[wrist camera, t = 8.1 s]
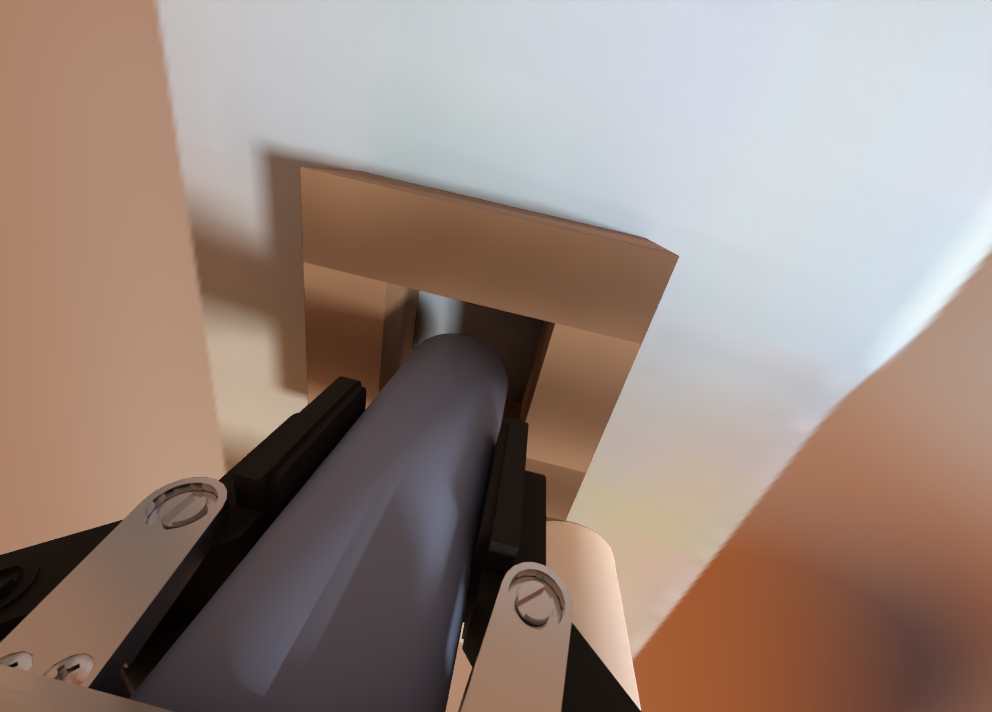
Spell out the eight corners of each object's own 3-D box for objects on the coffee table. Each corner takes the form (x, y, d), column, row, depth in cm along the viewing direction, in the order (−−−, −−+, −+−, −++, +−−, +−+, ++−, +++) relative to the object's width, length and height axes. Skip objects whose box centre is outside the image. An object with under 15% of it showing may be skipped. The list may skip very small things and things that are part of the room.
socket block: (360, 171, 15) (299, 167, 11) (646, 238, 14) (679, 256, 11) (352, 407, 20) (310, 456, 17) (561, 460, 20) (565, 521, 16)
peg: (411, 322, 13) (-228, 954, 2) (518, 348, 13) (380, 1141, 2) (401, 411, 15) (13, 1008, 4) (496, 434, 15) (357, 1114, 4)
